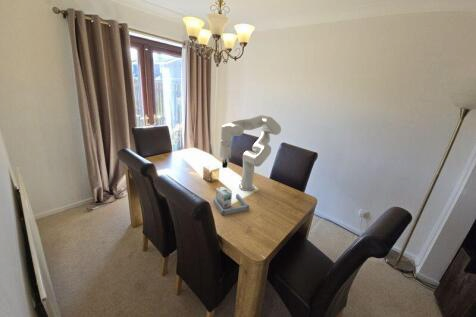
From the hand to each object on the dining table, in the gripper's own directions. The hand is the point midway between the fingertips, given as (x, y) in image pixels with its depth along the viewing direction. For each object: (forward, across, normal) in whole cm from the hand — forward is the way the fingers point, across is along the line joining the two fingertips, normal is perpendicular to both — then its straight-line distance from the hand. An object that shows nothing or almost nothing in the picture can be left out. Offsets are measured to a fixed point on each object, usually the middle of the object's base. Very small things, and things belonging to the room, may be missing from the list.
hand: (224, 167), depth 147 cm
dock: (+23, +15, 0) cm, 27 cm away
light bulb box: (+23, +11, -4) cm, 26 cm away
